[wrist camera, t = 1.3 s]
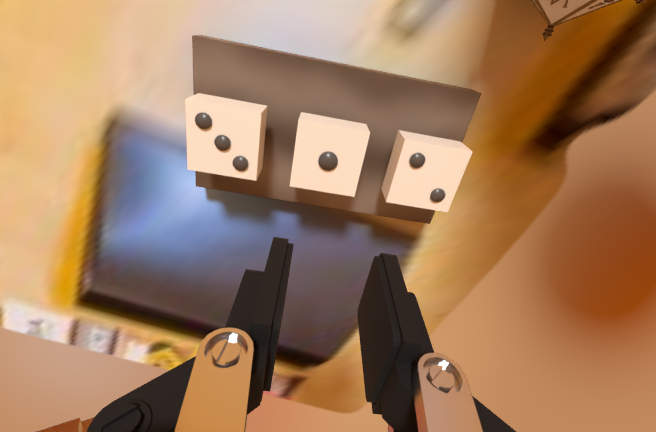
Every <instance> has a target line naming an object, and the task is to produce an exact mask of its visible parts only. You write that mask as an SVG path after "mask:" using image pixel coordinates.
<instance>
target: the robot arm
mask: <svg viewBox="0 0 656 432" xmlns="http://www.w3.org/2000/svg"><path fill="white" fill-rule="evenodd" d="M293 245H294V244H291V243H288V239H284V238H277V237H274V238H273V242H272V245H271V249H270V253H269V256H268V260H267V264H266V267H265V271H264V272H262V271H254V270H247V269H246V271H245V273H244V276H243V279H242V281H241V284H240V287H239V290H238V293H237V296H236V299H235V301H234V304H233V307H232V310H231V313H230V316H229V318H228V321H227V324H226V327H225V328H221V329H218V330H215V331H213V332H212V333H210V334H209V335H207V336H206V337H205V338H204V339H203V340H202V342H201V344H200V346H199V348H198V352H197V355H196V356H195V357H193V358H192V359H190V360H188V361H186V362H184V363H183V364H181V365H179V366H177V367H175V368H173V369H172V370H170V371H168V372H166V373H164V374H162V375H161V376H159V377H157V378H155V379H153V380H151V381H150V382H148V383H146V384H144V385H142V386H141V387H139V388H137V389H135V390H133V391H131V392H130V393H128V394H126V395H124V396H122V397H121V398H119V399H117V400H115V401H113V402H112V403H110V404H109V405H107V406H106V407H104V408H103V409H102V410H101V411H100V412H99V413H98V414H97V415H96V416H95V417H94V418H90V419H87V420H85V421H80V418H77V419H74V420H71V421H68V422H65V423H62V424H59V425H55V426H52V427H49V428H47V429H43V430H40V431H37V432H245V428H246V419H247V414H249V413H250V412H251V411H253V410H254V409H255V408H257V407H258V406H259V405H260V402H261V400H262V395H263V391H270V388H271V382H272V376H273V370H274V364H275V358H276V351H277V345H278V339H279V333H280V327H281V321H282V315H283V309H284V303H285V296H286V290H287V283H288V277H289V270H290V264H291V257H292V251H293ZM358 325H359V335H360V345H361V354H362V364H363V374H364V384H365V393H366V400H367V402H372V411H373V414H382V417H383V419H384V420H385V421H386V422H387V423H388V432H516V431H515V430H513V429H512V428H511V427H510V426H508V425H507V424H506V423H505V422H504V421H502V420H501V419H500V418H499V417H497V416H496V415H495V414H493V412H491V411H490V410H489V409H487V408H486V407H485V406H484V405H483V404H482V403H480V402H479V401H478V400H477V399H475V398H474V397H473V396H472V394H471V391H470V387H469V384H468V381H467V378H466V376H465V374H464V372H463V371H462V369H461V368H460V367H459V365H457V364H456V363H455V362H454V361H453V360H451V359H450V358H448V357H446V356H444V355H442V354H438V353H434V351H433V348H432V345H431V342H430V339H429V335H428V332H427V329H426V326H425V323H424V320H423V317H422V314H421V311H420V308H419V305H418V302H417V299H416V297H415V295H414V294H413V293H411V292H407V289H406V285H405V282H404V279H403V276H402V272H401V269H400V266H399V263H398V259H397V257H396V255H390V254H384V253H381V254H380V255H379V257H378V256H375V257H374V259H373V263H372V266H371V269H370V272H369V275H368V279H367V282H366V285H365V288H364V291H363V295H362V298H361V301H360V304H359V308H358Z"/></svg>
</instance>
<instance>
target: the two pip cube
mask: <svg viewBox="0 0 656 432" xmlns="http://www.w3.org/2000/svg"><path fill="white" fill-rule="evenodd" d="M472 152H473V151H471V150H470V149H469V148H468V147H466V146H465V145H464V144H463V143H461V142H460V141H455V140H450V139H444V138H439V137H433V136H428V135H423V134H417V133H412V132H406V131H401V130H398V133H397V136H396V140H395V143H394V147H393V150H392V153H391V157H390V160H389V164H388V167H387V171H386V174H385V178H384V181H383V185H382V188H381V189H382V192H383V195H384V198H385V201H386V202H388V203H394V204H400V205H406V206H412V207H418V208H424V209H431V210H437V211H443V212H448V210H449V208H450V205H451V203H452V200H453V198H454V196H455V193H456V191H457V188H458V186H459V184H460V181H461V179H462V176H463V174H464V172H465V169H466V167H467V164H468V162H469V160H470V157H471V155H472Z"/></svg>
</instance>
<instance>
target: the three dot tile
mask: <svg viewBox="0 0 656 432" xmlns="http://www.w3.org/2000/svg"><path fill="white" fill-rule="evenodd" d="M267 107H268V106H266V105H261V104H255V103H250V102H245V101H239V100H234V99H228V98H223V97H218V96H212V95H207V94H201V93H197V94H195V95H193V96H191V97H189V98H186V99H185V108H186V135H187V163H188V170H194V171H200V172H206V173H212V174H218V175H224V176H230V177H236V178H242V179H248V180H254V181H256V180H257V178H258V176H259V174H260V172H261V170H262V165H263V154H264V142H265V130H266V118H267Z"/></svg>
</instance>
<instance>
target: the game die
mask: <svg viewBox="0 0 656 432" xmlns="http://www.w3.org/2000/svg"><path fill="white" fill-rule="evenodd" d="M531 1H532V2H533V4H534V5H535V7H536V8H537V9H538V11H539V12H540V14H541V15H542V17H543V18H544V19H545V21H546V22H547V24H548V27H547V28H546V29H545V32H544V33H543V36H544V41H545V40H546V39H547V38H548V37H549V36H551V33H552V32H553V27H554V26H556V25H558V24H561V23H564V22H566V21H569V20H572V19H574V18H577V17H579V16H582V15H585V14H587V13H590V12H593V11H595V10H598V9H600V8H603V7H606V6H608V5H611V4H614V3H616V2H619V1H621V0H531ZM635 1H636V3H646V0H635Z"/></svg>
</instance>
